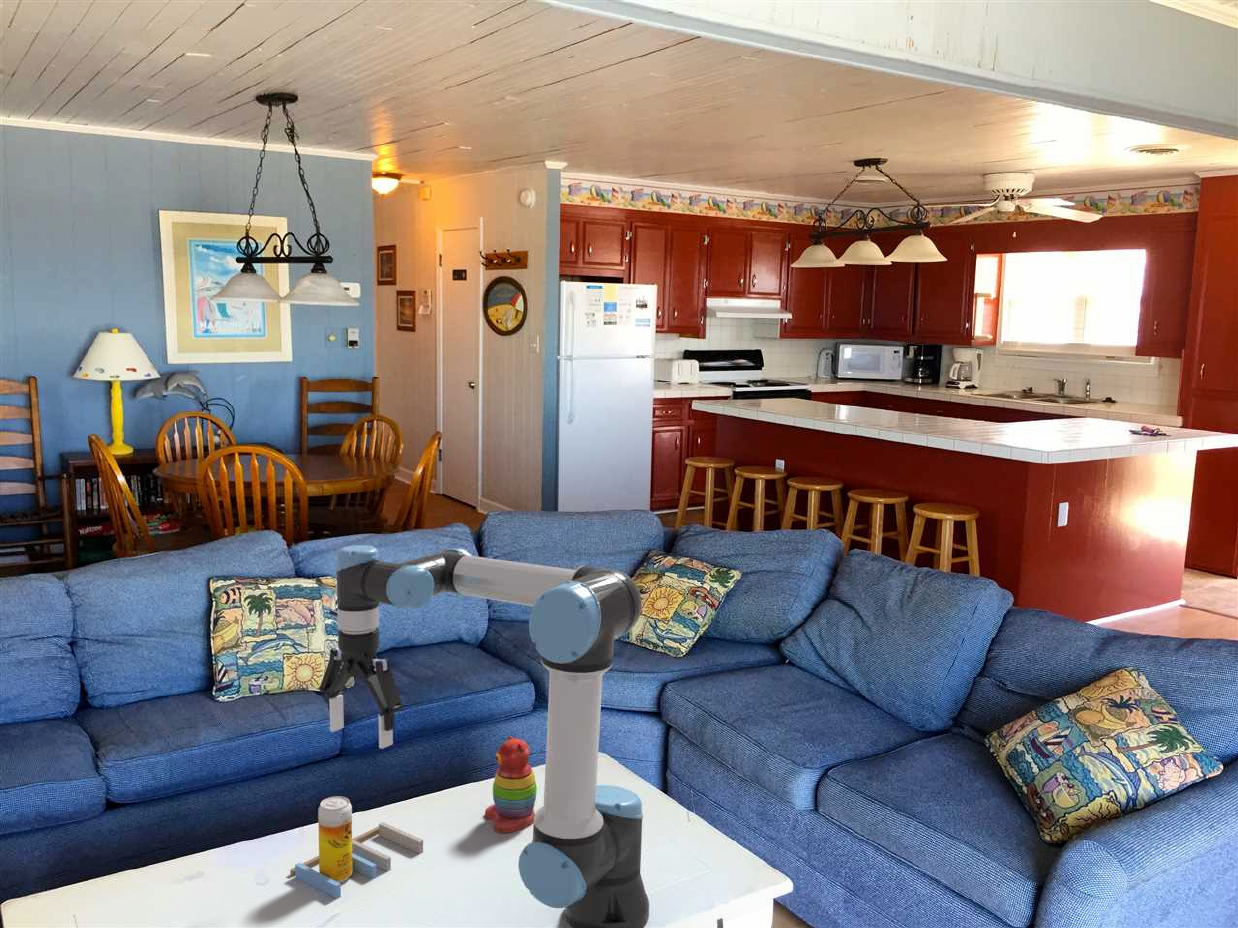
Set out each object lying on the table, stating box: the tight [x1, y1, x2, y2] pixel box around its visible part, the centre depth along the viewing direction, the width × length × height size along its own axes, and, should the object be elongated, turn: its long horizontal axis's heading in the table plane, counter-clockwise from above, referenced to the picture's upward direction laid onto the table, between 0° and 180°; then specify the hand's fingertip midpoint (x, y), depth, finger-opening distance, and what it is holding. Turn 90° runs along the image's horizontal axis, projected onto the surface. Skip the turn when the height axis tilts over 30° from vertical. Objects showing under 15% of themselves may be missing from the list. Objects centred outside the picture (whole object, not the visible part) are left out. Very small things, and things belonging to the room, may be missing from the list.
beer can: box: [317, 796, 354, 884], centre depth 191 cm, size 6×6×15 cm
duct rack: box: [290, 821, 424, 900], centre depth 197 cm, size 14×22×2 cm, turn 144°
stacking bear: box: [484, 735, 538, 834], centre depth 215 cm, size 11×10×18 cm
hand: (361, 737), depth 191 cm, fingers open, 13 cm apart
